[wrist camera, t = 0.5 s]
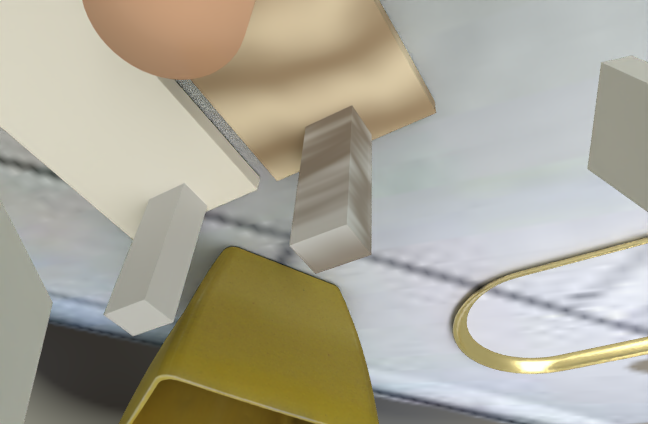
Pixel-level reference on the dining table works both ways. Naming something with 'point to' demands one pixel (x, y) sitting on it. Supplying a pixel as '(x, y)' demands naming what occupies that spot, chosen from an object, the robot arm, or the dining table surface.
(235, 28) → the tan rounded cylinder
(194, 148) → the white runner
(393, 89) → the oak runner
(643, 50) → the dining table surface
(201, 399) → the flower pot
